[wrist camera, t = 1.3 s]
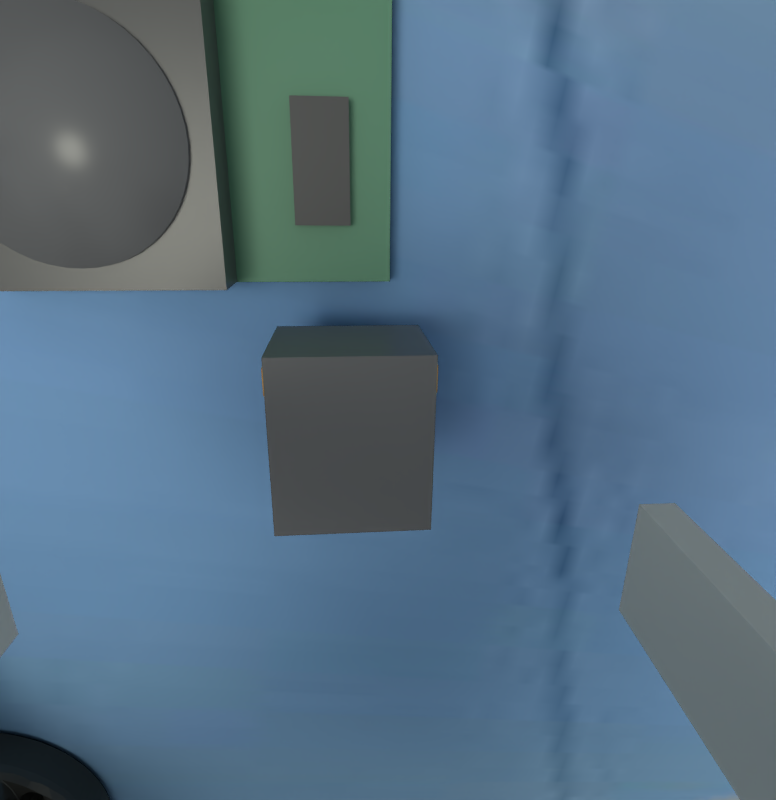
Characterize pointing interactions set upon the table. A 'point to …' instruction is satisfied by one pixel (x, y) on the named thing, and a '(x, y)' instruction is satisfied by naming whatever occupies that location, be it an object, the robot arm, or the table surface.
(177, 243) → the fan
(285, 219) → the board
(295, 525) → the plug
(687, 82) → the table surface
